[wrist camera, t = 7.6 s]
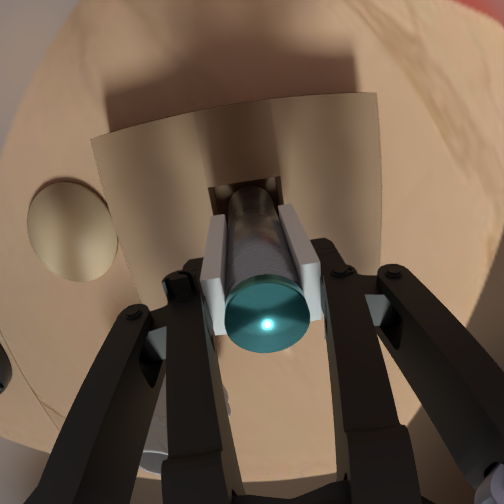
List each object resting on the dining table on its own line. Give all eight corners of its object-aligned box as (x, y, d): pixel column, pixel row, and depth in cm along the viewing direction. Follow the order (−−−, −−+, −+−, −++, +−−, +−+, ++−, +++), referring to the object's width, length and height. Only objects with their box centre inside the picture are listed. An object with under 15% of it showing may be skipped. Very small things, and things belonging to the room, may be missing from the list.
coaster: (51, 284, 26) (49, 287, 25) (17, 196, 22) (14, 198, 21) (132, 272, 26) (130, 274, 25) (99, 169, 21) (97, 170, 21)
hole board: (156, 294, 27) (148, 319, 24) (109, 132, 20) (90, 139, 17) (363, 261, 26) (378, 283, 23) (356, 92, 20) (376, 92, 17)
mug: (123, 380, 32) (101, 471, 21) (203, 341, 29) (195, 452, 19) (169, 414, 35) (159, 498, 24) (248, 382, 33) (255, 481, 22)
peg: (232, 230, 22) (233, 357, 12) (225, 189, 21) (216, 294, 10) (275, 223, 22) (311, 345, 12) (270, 182, 21) (307, 279, 10)
